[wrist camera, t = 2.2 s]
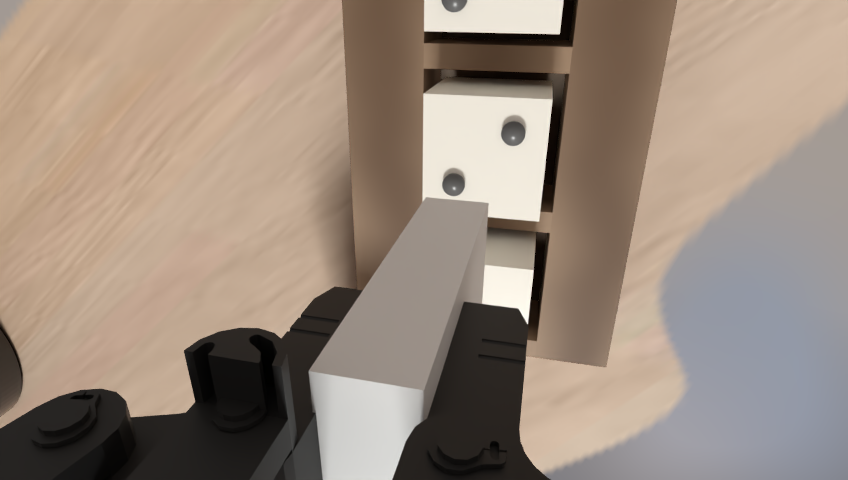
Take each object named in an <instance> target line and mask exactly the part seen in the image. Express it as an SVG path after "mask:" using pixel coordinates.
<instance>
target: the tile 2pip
mask: <svg viewBox="0 0 848 480" xmlns="http://www.w3.org/2000/svg"><path fill="white" fill-rule="evenodd" d="M552 101H553V90H552V81H542V80H517V79H491V78H465V77H446V78H444V79H443V80H442V81H440V82H439V83H437V84H436V85H435V86H433V87H432V88H430V89H429V90H428V91H426V92H425V93H424V94H423V198H422V202H423V201H424V199H425V198H426V197H429V198H440V199H451V200H463V201H474V202H485V203H489V206H488V217H493V218H504V219H515V220H526V221H537V222H539V218H540V209H541V200H542V191H543V182H544V173H545V164H546V155H547V146H548V137H549V128H550V119H551V110H552Z"/></svg>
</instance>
